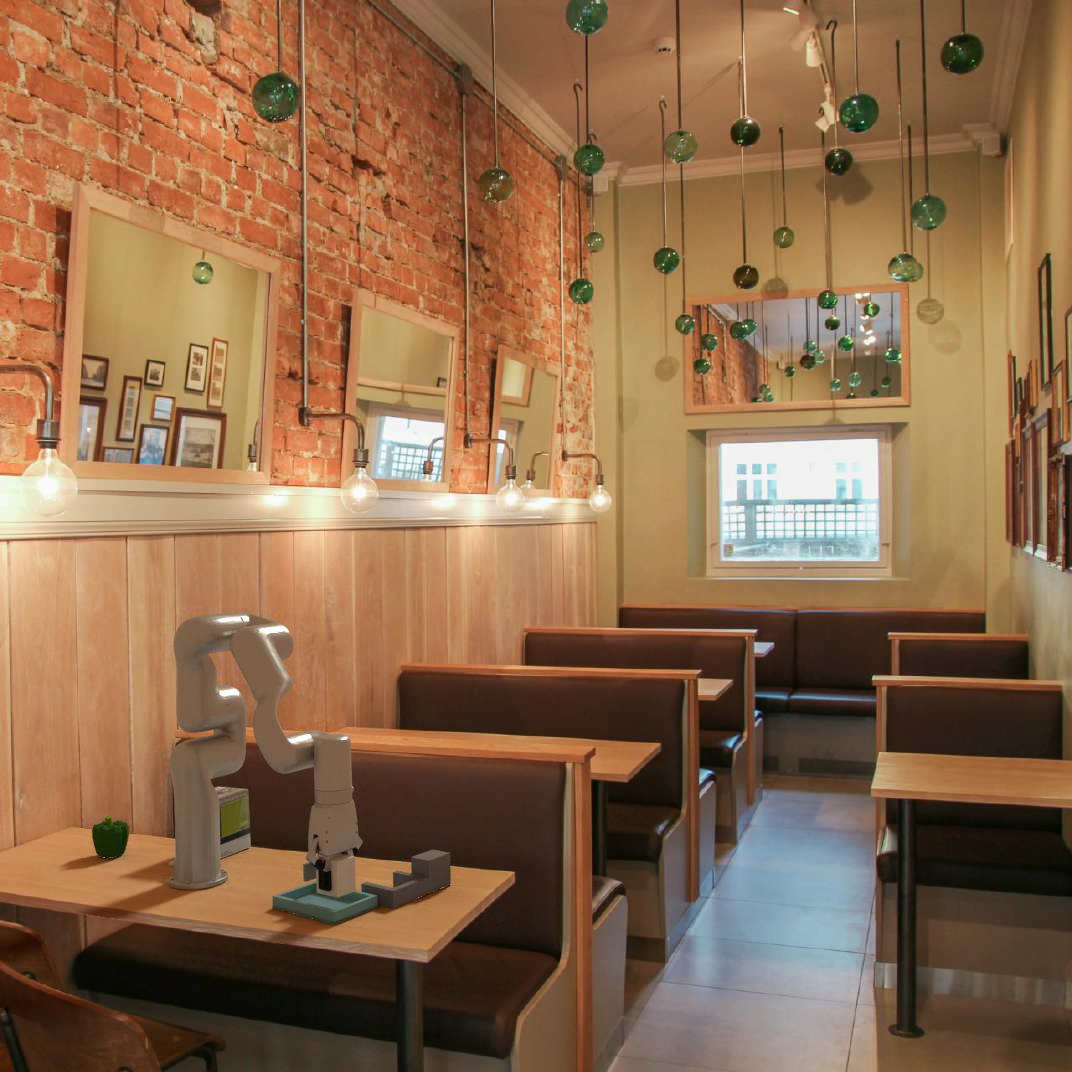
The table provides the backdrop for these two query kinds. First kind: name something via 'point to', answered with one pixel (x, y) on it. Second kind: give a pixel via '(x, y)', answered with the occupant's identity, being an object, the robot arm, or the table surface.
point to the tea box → (233, 820)
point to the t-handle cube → (335, 875)
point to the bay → (414, 879)
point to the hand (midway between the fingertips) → (335, 885)
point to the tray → (324, 904)
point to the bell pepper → (110, 837)
